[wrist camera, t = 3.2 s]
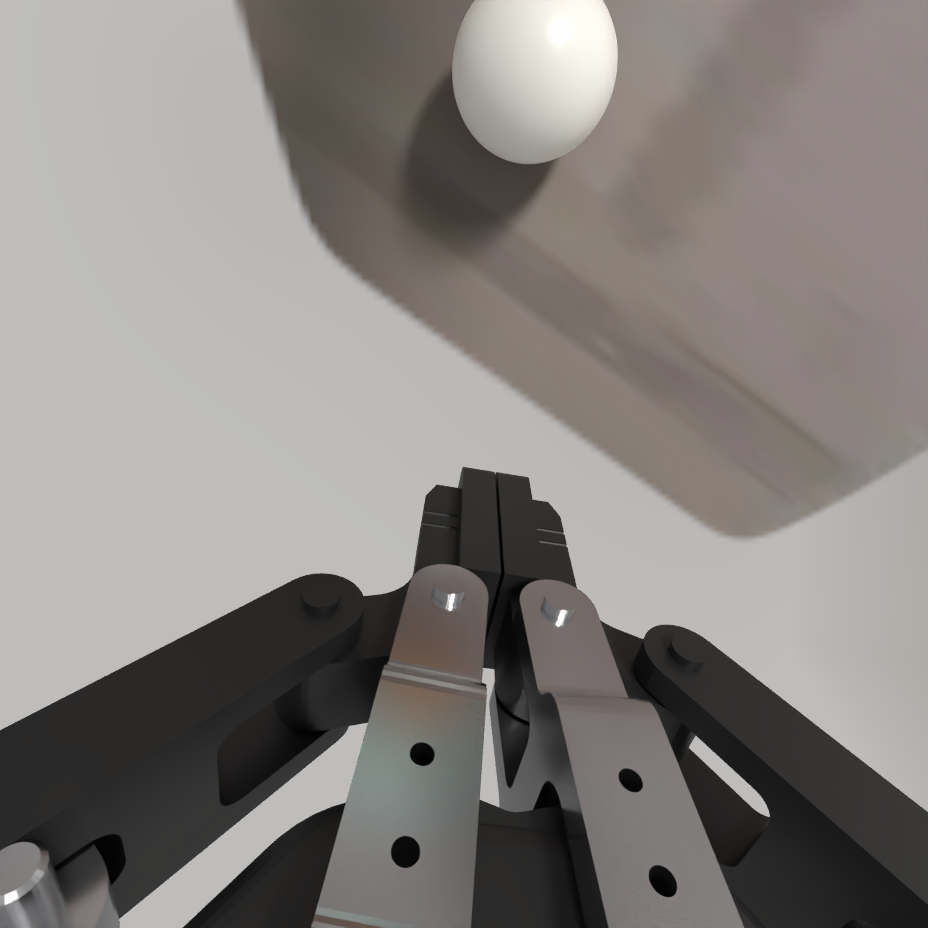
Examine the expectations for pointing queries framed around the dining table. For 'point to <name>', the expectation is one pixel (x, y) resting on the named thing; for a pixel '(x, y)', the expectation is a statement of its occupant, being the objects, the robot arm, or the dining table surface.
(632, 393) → the dining table surface
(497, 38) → the cue ball
